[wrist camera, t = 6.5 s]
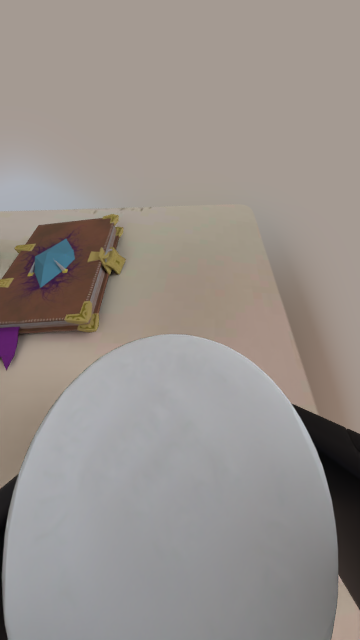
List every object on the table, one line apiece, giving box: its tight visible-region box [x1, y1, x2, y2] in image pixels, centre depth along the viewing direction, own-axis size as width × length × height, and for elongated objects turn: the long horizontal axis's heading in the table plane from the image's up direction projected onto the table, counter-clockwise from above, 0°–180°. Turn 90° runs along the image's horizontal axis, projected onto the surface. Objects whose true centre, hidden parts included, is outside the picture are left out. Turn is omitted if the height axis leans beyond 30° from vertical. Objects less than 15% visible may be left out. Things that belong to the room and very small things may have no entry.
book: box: [0, 214, 126, 370], centre depth 25 cm, size 16×25×5 cm, turn 0°
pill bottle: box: [2, 334, 338, 640], centre depth 8 cm, size 6×6×11 cm
